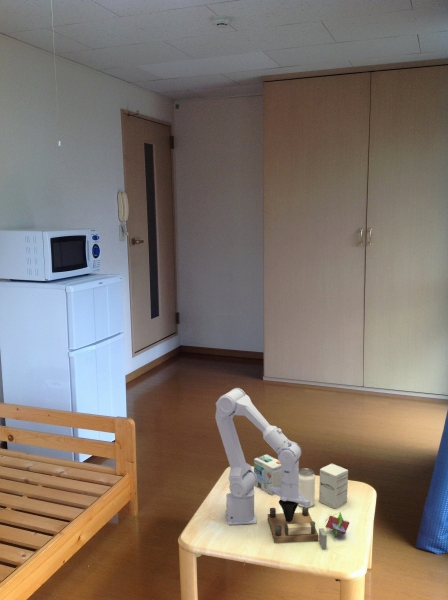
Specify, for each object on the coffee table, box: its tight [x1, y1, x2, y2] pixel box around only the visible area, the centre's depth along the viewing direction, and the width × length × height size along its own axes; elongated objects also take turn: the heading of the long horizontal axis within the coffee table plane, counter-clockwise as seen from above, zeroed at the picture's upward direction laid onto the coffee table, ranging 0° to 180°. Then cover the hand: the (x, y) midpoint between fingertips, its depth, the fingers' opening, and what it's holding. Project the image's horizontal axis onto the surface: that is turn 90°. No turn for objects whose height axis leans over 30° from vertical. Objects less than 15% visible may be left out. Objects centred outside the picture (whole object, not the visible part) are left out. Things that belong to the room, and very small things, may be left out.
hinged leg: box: [285, 520, 316, 535], centre depth 177 cm, size 10×2×3 cm, turn 94°
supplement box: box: [318, 463, 349, 510], centre depth 200 cm, size 7×7×13 cm
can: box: [298, 467, 316, 509], centre depth 199 cm, size 6×6×12 cm
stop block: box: [318, 527, 328, 550], centre depth 174 cm, size 1×4×5 cm, turn 4°
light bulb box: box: [253, 453, 281, 496], centre depth 211 cm, size 11×7×11 cm, turn 37°
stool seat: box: [267, 506, 319, 544], centre depth 183 cm, size 14×14×4 cm
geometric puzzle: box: [324, 512, 351, 538], centre depth 180 cm, size 7×7×8 cm
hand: (289, 520), depth 183 cm, fingers closed
